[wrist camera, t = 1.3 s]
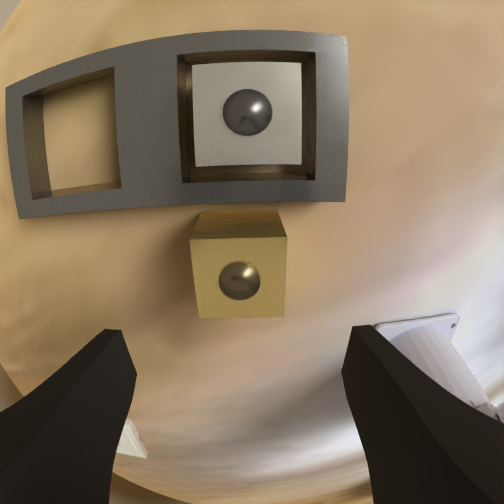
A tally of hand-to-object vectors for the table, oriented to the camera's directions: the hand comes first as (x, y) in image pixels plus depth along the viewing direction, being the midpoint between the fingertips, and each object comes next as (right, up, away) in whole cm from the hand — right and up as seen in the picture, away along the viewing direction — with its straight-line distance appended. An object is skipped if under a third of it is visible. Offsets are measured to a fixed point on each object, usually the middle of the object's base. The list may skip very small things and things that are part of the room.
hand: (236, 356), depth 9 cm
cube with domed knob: (0, +10, +5) cm, 11 cm away
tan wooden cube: (0, +4, +8) cm, 9 cm away
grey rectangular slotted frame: (-4, +10, +5) cm, 12 cm away
